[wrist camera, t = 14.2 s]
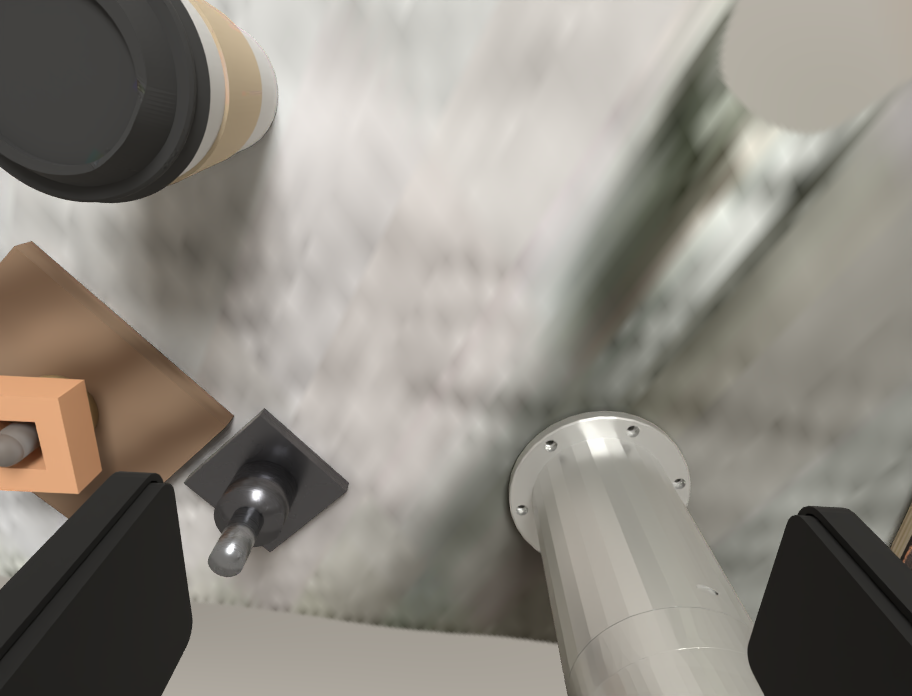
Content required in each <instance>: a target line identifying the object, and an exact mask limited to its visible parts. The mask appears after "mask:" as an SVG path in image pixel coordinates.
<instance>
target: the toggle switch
mask: <svg viewBox="0 0 912 696" xmlns="http://www.w3.org/2000/svg"><path fill="white" fill-rule="evenodd" d="M0 375H1V376H21V377H41V378H61V379H81V380H84V381H85V386H86V391H87V396H88V401H89V406H90V411H91V416H92V421H93V427H94V432H95V437H96V442H97V447H98V452H99V457H100V462H101V467H102V471H101V472H100V473H99V474H98V475H97V476H96V477H95V478H94V479H93V480H92V481H91V482H90V483H89V484H88V485H87V486H86V487H85V488H84V489H83V490H82V491H81V492H80V493H79V494H69V493H48V492H33V493H34V494H35V495H37V496H38V497H40V498H41V499H42V500H44V501H45V502H46V503H48V504H49V505H51V506H52V507H53V508H55V509H56V510H57V511H59V512H60V513H62V514H63V515H64V516H66V517H67V518H68V519H69V518H70V517H71V516H72V515H73V514H74V513H75V512H76V511H77V510H78V509H79V508H80V507H81V506H82V505H83V504H84V503H85V502H86V500H87V499H88V498H89V497H90V496H91V495H92V494H93V493H94V492H95V491H96V490H97V489H98V488H99V487H100V486H101V485H102V484H103V483H104V482H105V481H106V480H107V479H108V478H109V477H110V476H111V475H112V474H114V473H115V472H119V471H127V472H146V473H157V474H159V475H160V476H161V477H162V479H163V482H165V481H166V480H167V479H168V478H169V477H171V476H172V475H173V474H174V473H175V472H176V471H177V470H178V469H179V468H181V467H182V466H183V465H184V464H185V463H186V462H187V461H188V460H189V459H191V458H192V457H193V456H194V455H195V454H196V453H197V452H198V451H199V450H201V449H202V448H203V447H204V446H205V445H206V444H207V443H208V442H209V441H211V440H212V439H213V438H214V437H215V436H216V435H217V434H218V433H219V432H221V431H222V430H223V429H224V428H225V427H226V426H227V425H228V423H229V422H230V421H231V419H232V418H233V417H234V416H233V415H232V414H231V413H230V412H229V411H228V410H227V409H225V408H224V407H223V406H222V405H221V404H220V403H218V402H217V401H216V400H215V399H214V398H213V397H211V396H210V395H209V394H208V393H207V392H206V391H205V390H203V389H202V388H201V387H200V386H199V385H198V384H196V383H195V382H194V381H193V380H192V379H191V378H189V377H188V376H187V375H186V374H185V373H184V372H183V371H181V370H180V369H179V368H178V367H177V366H176V365H174V364H173V363H172V362H171V361H170V360H169V359H167V358H166V357H165V356H164V355H163V354H162V353H161V352H159V351H158V350H157V349H156V348H155V347H154V346H152V345H151V344H150V343H149V342H148V341H147V340H145V339H144V338H143V337H142V336H141V335H140V334H139V333H137V332H136V331H135V330H134V329H133V328H132V327H130V326H129V325H128V324H127V323H126V322H125V321H124V320H122V319H121V318H120V317H119V316H118V315H117V314H115V313H114V312H113V311H112V310H111V309H110V308H108V307H107V306H106V305H105V304H104V303H103V302H102V301H100V300H99V299H98V298H97V297H96V296H95V295H93V294H92V293H91V292H90V291H89V290H88V289H86V288H85V287H84V286H83V285H82V284H81V283H80V282H78V281H77V280H76V279H75V278H74V277H73V276H71V275H70V274H69V273H68V272H67V271H66V270H64V269H63V268H62V267H61V266H60V265H59V264H58V263H56V262H55V261H54V260H53V259H52V258H51V257H49V256H48V255H47V254H46V253H45V252H44V251H42V250H41V249H40V248H39V247H38V246H37V245H36V244H34V243H33V242H32V241H31V242H27V243H24V244H21V245H17V246H14V247H13V249H12V250H11V251H10V252H9V253H8V254H7V256H6V257H5V258H4V259H3V260H2V261H1V263H0ZM39 446H41V445H40V441H39V437H38V433H37V429H36V424H35V422H23V421H14V422H12V423H11V424H9V425H8V426H7V427H5V428H4V429H2V430H1V431H0V467H9V466H12V465H15V464H17V463H18V462H20V461H21V460H22V459H24V458H25V457H26V456H28V455H29V454H30V453H31V452H33V451H34V450H35V449H36V448H38V447H39Z"/></svg>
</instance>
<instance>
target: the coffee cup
mask: <svg viewBox="0 0 912 696" xmlns="http://www.w3.org/2000/svg"><path fill="white" fill-rule="evenodd" d="M277 103H278V86H277V80H276V75H275V72H274V69H273V66H272V64H271V62H270V60H269V58H268V56H267V54H266V53H265V51H264V50H263V48H262V47H261V46H260V44H259V43H258V42H257V41H256V40H255V39H254V38H253V37H252V36H251V35H250V34H248V33H247V32H246V31H244V30H243V29H241V28H240V27H238V26H237V25H235V24H234V23H233V22H232V21H231V20H230V19H229V18H228V17H227V16H226V15H224V14H223V13H222V12H221V11H219V10H218V9H216V8H215V7H213V6H212V5H210V4H209V3H207V2H206V1H204V0H0V167H1V168H3V169H4V170H5V171H6V172H8V173H9V174H10V175H12V176H13V177H15V178H16V179H18V180H19V181H21V182H23V183H24V184H26V185H28V186H30V187H32V188H34V189H36V190H38V191H40V192H43V193H45V194H48V195H51V196H54V197H57V198H61V199H65V200H71V201H77V202H100V203H120V202H128V201H133V200H137V199H141V198H144V197H147V196H149V195H152V194H154V193H156V192H158V191H160V190H161V189H163V188H165V187H166V186H168V185H171V184H174V183H176V182H179V181H181V180H183V179H185V178H187V177H190V176H192V175H194V174H196V173H198V172H200V171H202V170H205V169H207V168H209V167H211V166H213V165H215V164H218V163H220V162H222V161H224V160H226V159H228V158H229V157H231V156H232V155H234V154H235V153H237V152H239V151H242V150H244V149H246V148H248V147H250V146H252V145H253V144H255V143H256V142H257V141H259V140H260V139H261V138H262V137H263V135H264V134H265V133H266V132H267V130H268V129H269V127H270V125H271V123H272V121H273V119H274V116H275V113H276V109H277Z"/></svg>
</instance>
